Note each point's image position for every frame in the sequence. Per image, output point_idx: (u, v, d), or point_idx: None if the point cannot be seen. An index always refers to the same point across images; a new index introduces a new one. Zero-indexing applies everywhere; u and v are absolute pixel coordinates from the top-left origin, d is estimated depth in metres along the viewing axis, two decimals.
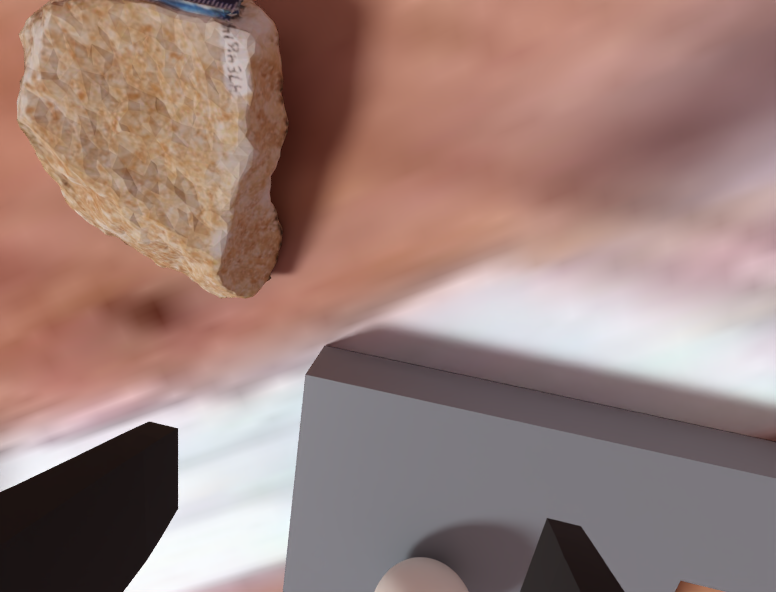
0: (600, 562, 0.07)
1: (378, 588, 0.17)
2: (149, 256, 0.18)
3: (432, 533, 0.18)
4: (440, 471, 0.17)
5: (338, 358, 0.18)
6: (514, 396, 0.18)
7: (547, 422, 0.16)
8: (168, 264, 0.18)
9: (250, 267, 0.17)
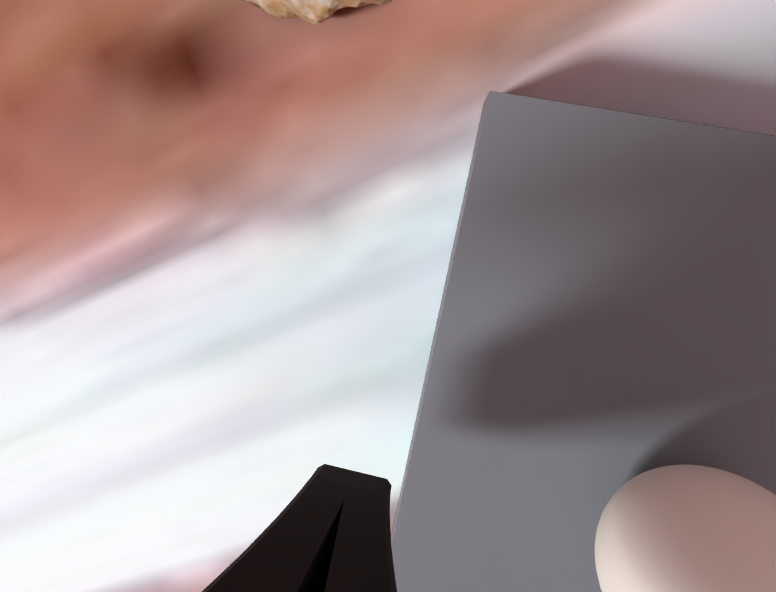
0: (378, 507, 0.07)
1: (622, 515, 0.09)
2: None
3: (693, 423, 0.10)
4: (738, 292, 0.09)
5: None
6: None
7: None
8: None
9: None
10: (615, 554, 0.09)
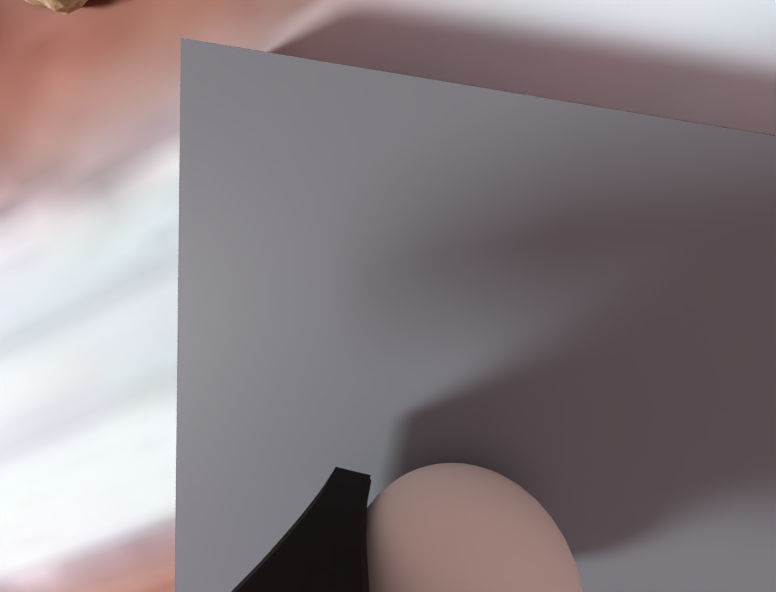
0: (356, 501, 0.07)
1: None
2: None
3: (454, 418, 0.09)
4: (476, 269, 0.08)
5: None
6: None
7: (726, 131, 0.07)
8: None
9: None
10: None
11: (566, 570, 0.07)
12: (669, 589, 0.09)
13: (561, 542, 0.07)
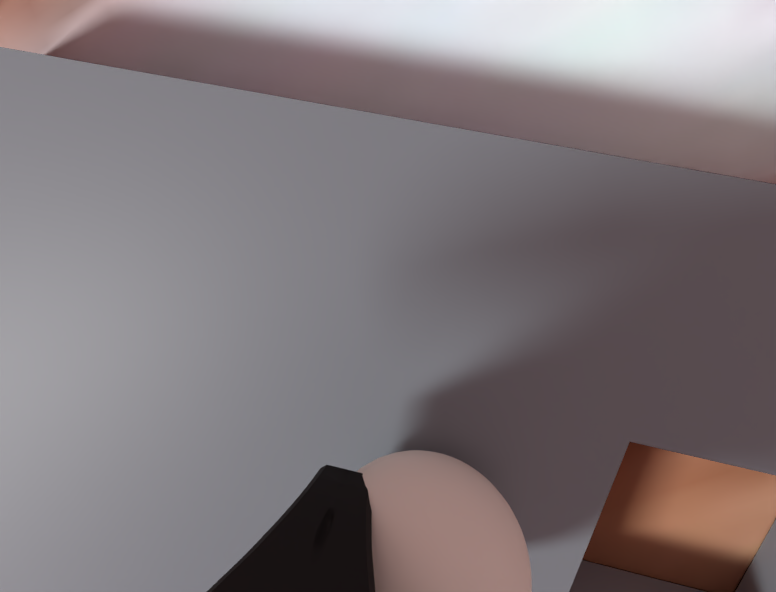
0: (361, 503, 0.07)
1: (522, 591, 0.07)
2: None
3: (193, 368, 0.10)
4: (186, 233, 0.09)
5: None
6: None
7: (368, 113, 0.08)
8: None
9: None
10: (531, 589, 0.08)
11: None
12: None
13: (367, 466, 0.09)
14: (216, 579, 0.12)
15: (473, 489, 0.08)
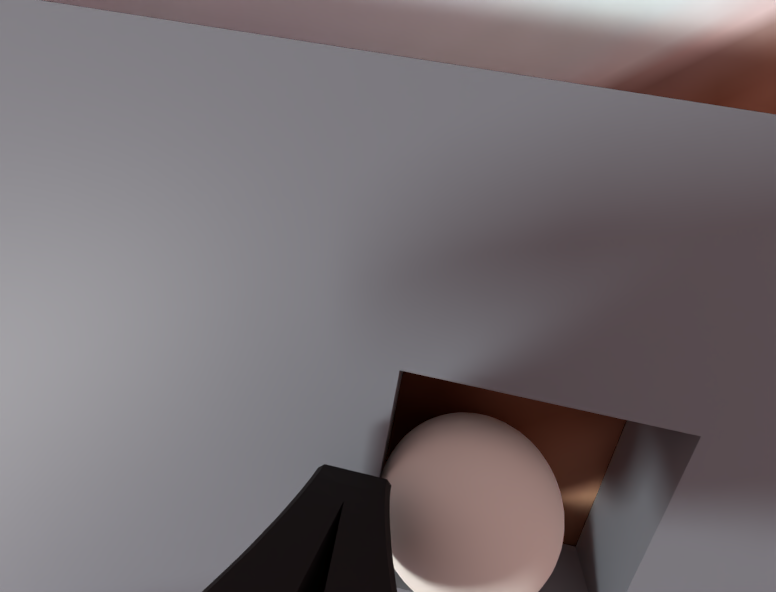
0: (379, 507, 0.07)
1: None
2: None
3: None
4: None
5: None
6: None
7: (88, 11, 0.08)
8: None
9: None
10: (392, 541, 0.09)
11: (542, 465, 0.09)
12: (188, 465, 0.10)
13: (533, 447, 0.10)
14: (32, 528, 0.12)
15: (456, 469, 0.09)
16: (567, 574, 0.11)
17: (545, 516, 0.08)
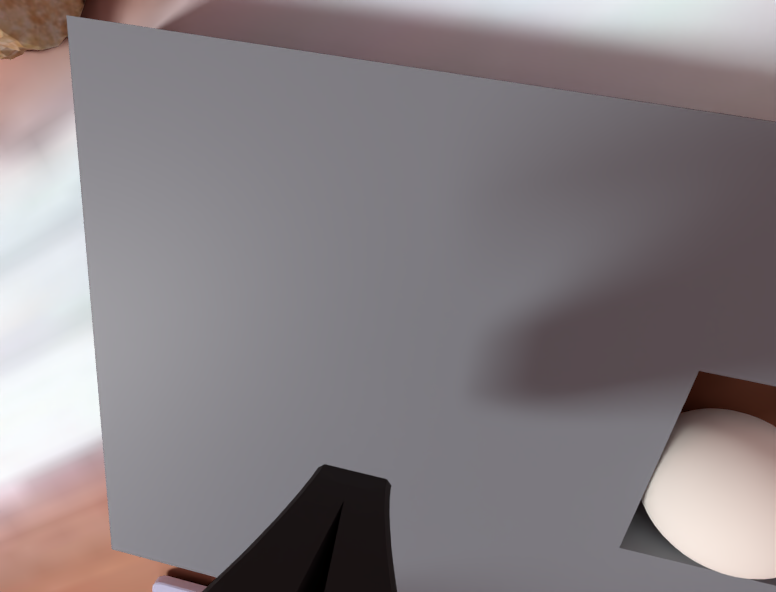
0: (379, 507, 0.07)
1: (681, 487, 0.11)
2: None
3: (301, 315, 0.11)
4: (301, 192, 0.10)
5: None
6: None
7: (469, 78, 0.09)
8: None
9: None
10: (691, 520, 0.11)
11: None
12: (479, 452, 0.12)
13: None
14: None
15: (753, 459, 0.10)
16: None
17: None
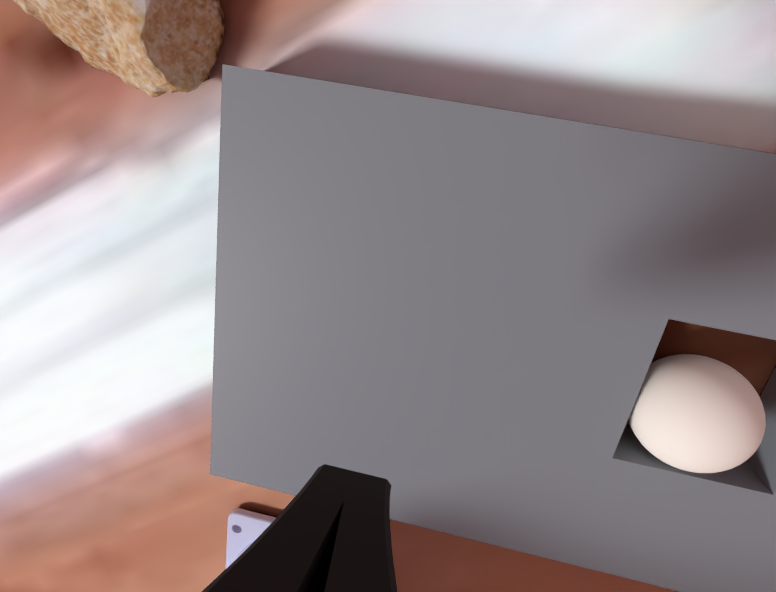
0: (379, 507, 0.07)
1: (658, 407, 0.15)
2: (74, 39, 0.16)
3: (378, 281, 0.15)
4: (384, 189, 0.14)
5: None
6: None
7: (508, 111, 0.14)
8: (94, 49, 0.16)
9: (184, 50, 0.15)
10: (665, 429, 0.15)
11: (749, 382, 0.15)
12: (508, 384, 0.16)
13: (737, 372, 0.15)
14: (377, 433, 0.17)
15: (709, 384, 0.14)
16: None
17: (761, 408, 0.14)
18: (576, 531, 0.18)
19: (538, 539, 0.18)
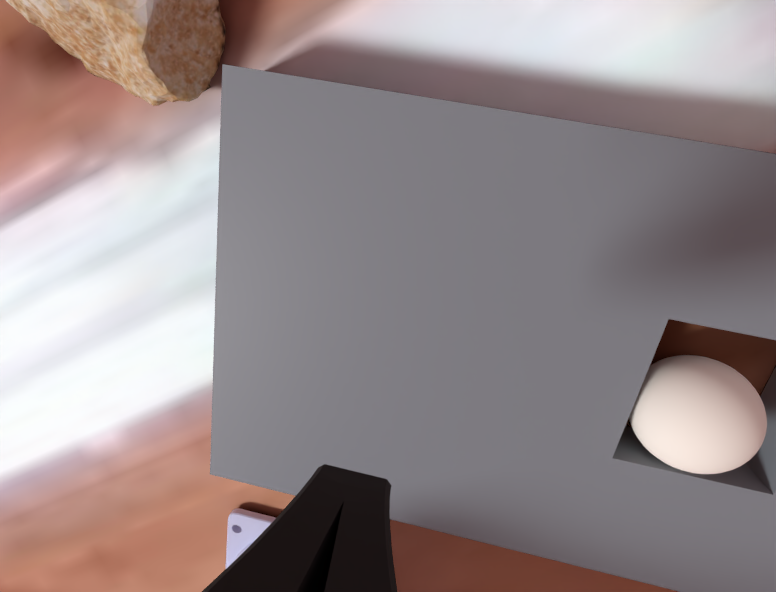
0: (379, 507, 0.07)
1: (661, 409, 0.15)
2: (76, 48, 0.16)
3: (378, 281, 0.15)
4: (384, 189, 0.14)
5: None
6: None
7: (508, 111, 0.14)
8: (96, 58, 0.16)
9: (185, 60, 0.15)
10: (668, 431, 0.15)
11: None
12: (508, 384, 0.16)
13: None
14: (377, 433, 0.17)
15: (712, 386, 0.14)
16: None
17: (763, 409, 0.14)
18: (576, 531, 0.18)
19: (538, 539, 0.18)
